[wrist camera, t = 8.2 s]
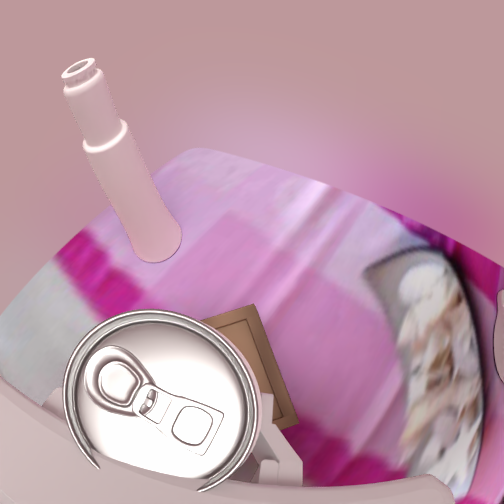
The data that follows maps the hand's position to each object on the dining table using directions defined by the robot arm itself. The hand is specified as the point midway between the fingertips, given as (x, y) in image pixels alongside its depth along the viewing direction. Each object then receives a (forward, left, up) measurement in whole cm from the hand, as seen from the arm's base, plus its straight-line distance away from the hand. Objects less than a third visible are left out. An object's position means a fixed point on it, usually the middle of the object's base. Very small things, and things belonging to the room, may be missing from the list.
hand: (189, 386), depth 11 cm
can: (+2, +1, -7) cm, 7 cm away
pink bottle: (+2, -17, -15) cm, 23 cm away
